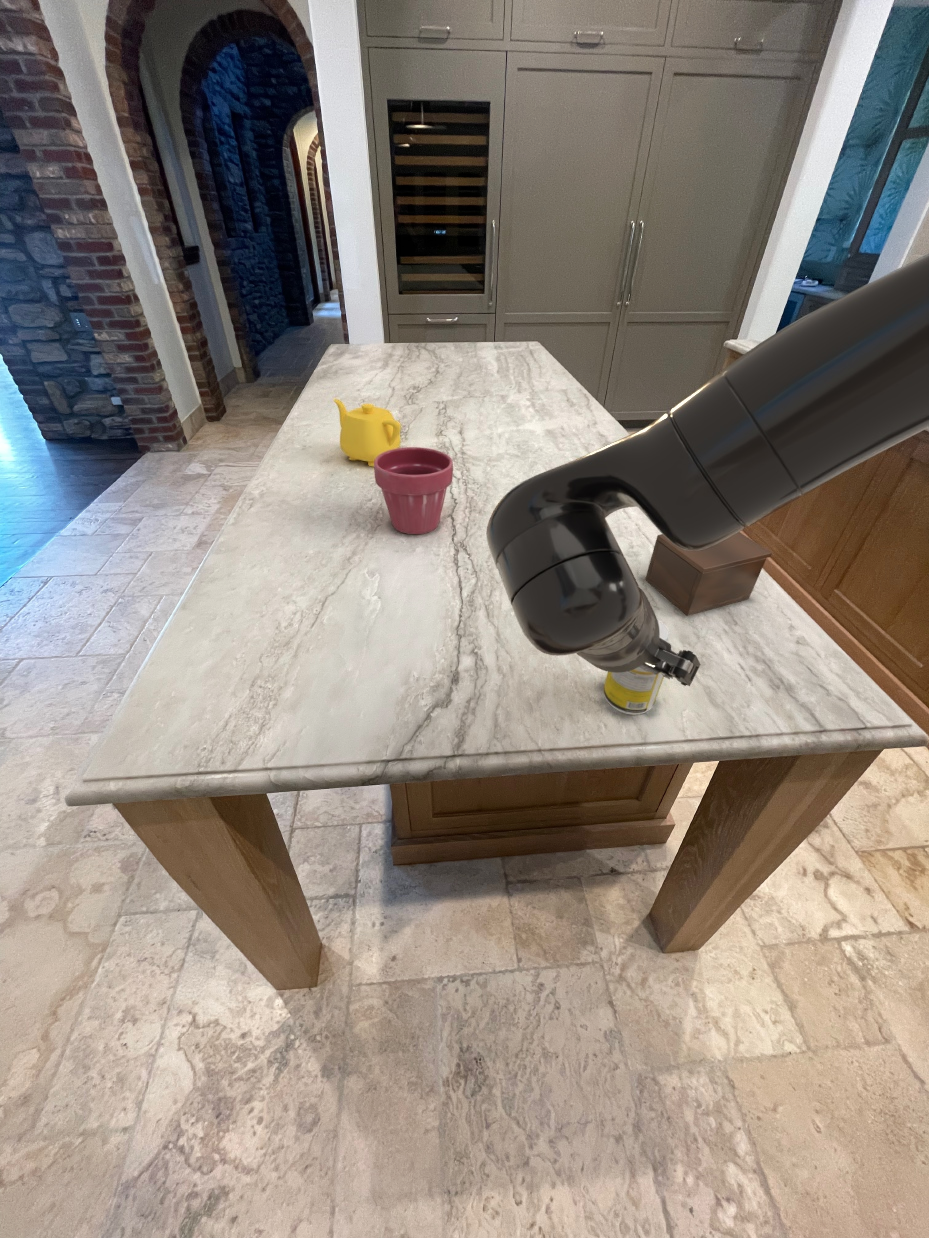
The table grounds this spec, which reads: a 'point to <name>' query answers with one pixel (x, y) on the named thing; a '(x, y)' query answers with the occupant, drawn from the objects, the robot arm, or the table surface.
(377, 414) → the teapot
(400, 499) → the flower pot
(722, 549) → the lid
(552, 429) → the table surface
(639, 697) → the pill bottle
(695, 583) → the box
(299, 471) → the table surface
